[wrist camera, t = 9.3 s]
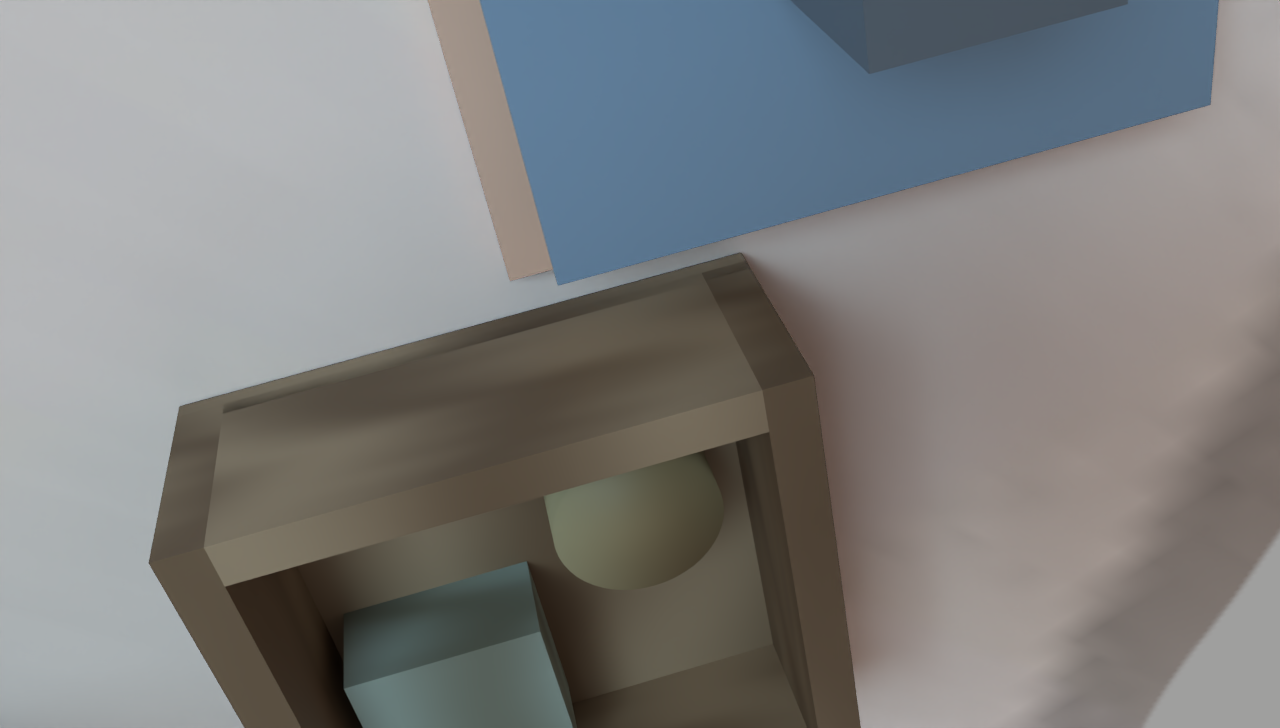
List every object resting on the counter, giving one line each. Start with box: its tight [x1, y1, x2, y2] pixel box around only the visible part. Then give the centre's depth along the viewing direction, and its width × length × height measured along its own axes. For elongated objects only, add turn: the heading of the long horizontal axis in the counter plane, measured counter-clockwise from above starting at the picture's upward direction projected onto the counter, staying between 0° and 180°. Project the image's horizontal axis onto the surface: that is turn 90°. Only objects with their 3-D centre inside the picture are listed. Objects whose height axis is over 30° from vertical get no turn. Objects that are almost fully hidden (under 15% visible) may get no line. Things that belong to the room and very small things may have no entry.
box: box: [149, 253, 861, 728], centre depth 22 cm, size 10×10×4 cm
